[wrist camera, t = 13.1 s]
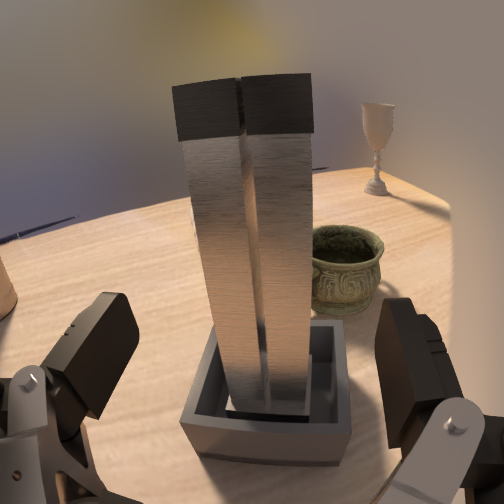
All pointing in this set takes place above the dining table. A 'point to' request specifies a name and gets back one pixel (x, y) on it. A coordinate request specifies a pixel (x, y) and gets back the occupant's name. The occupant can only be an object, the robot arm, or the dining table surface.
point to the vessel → (344, 269)
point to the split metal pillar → (255, 233)
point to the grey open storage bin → (274, 433)
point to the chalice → (377, 139)
